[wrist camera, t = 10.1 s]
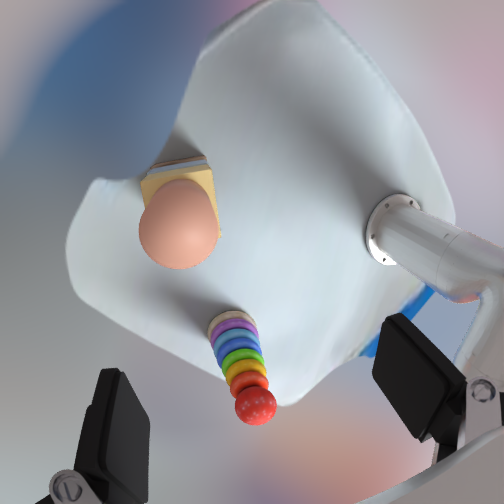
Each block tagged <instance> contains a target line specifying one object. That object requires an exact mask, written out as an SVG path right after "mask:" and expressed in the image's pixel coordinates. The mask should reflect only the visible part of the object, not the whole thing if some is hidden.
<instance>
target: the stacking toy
mask: <svg viewBox="0 0 504 504" xmlns="http://www.w3.org/2000/svg"><path fill="white" fill-rule="evenodd" d="M208 339H209V341H210V343H211V346H212V349H213V350H214V355H215V357H216V359H217V362H218V365H219V367H220V368H221V369H222V372H223V374H224V376H225V377H226V381H227V384H228V385H229V386H230V392H231V394H232V396H233V397H234V398H236V401H235V411H236V414H237V416H238V417H239V418H240V419H241V420H242V421H243V422H245V423H247V424H250V425H261V424H264V423H266V422H268V421H269V420H271V419H272V417H273V416H274V414H275V412H276V407H277V404H276V400H275V398H274V396H273V395H272V393H271V392H270V391H268V385H269V384H268V380H267V378H266V368H265V366H264V359H263V357H262V352H261V349H260V342H259V336H258V331H257V327H256V324H255V321H254V320H253V319H252V317H250V316H249V315H248V314H246V313H244V312H240V311H227V312H224V313H222V314H220V315H218V316H217V317H215V318H214V319H213V320H212V322H211V323H210V325H209V327H208Z"/></svg>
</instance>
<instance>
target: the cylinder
mask: <svg viewBox="0 0 504 504" xmlns="http://www.w3.org/2000/svg"><path fill="white" fill-rule="evenodd" d="M218 234H219V227H218V221H217V218H216V215H215V212H214V210H213V207H212V204H211V201H210V199H209V196H208V194H207V192H206V191H205V190H204V189H203V187H201V186H200V185H199V184H197V183H196V182H194V181H191V180H188V179H174V180H171V181H168V182H166V183H165V184H163V185H162V186H161V187H159V188H158V190H157V191H156V192H155V194H154V195H153V197H152V199H151V200H150V202H149V204H148V205H147V207H146V209H145V210H144V212H143V214H142V216H141V219H140V223H139V238H140V242H141V245H142V247H143V249H144V250H145V252H146V253H147V255H148V256H149V257H150V258H151V259H152V260H154V261H155V262H156V263H158V264H160V265H162V266H164V267H167V268H172V269H186V268H190V267H193V266H196V265H197V264H199V263H201V262H202V261H204V260H205V259H206V258H207V257H208V256H209V255H210V254H211V252H212V251H213V249H214V247H215V245H216V243H217V240H218Z"/></svg>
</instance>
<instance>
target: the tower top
mask: <svg viewBox="0 0 504 504" xmlns="http://www.w3.org/2000/svg"><path fill="white" fill-rule="evenodd" d="M174 179H188V180H191V181H194V182H196V183H197V184H199V185H200V186H201V187H203V189H204V190H205V191H206V192H207V194H208V196H209V199H210V201H211V204H212V207H213V210H214V212H215V215H216V218H217V221H218V227H219V234H218V238H221V232H220V225H219V219H218V212H217V205H216V198H215V190H214V183H213V176H212V169H211V168H210V167H209V165H208V164H205V165H199V166H193V167H187V168H181V169H176V170H170V171H165V172H160V173H155V174H150V175H148V176H146V177H145V178H144V179H143V180H142V181H141V182H140V185H141V190H142V195H143V201H144V206H145V209H146V207H147V205H148V204H149V202H150V200H151V199H152V197H153V195H154V194H155V192H156V191H157V190H158V188H159V187H161V186H162V185H163V184H165V183H166V182H168V181H171V180H174Z"/></svg>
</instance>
